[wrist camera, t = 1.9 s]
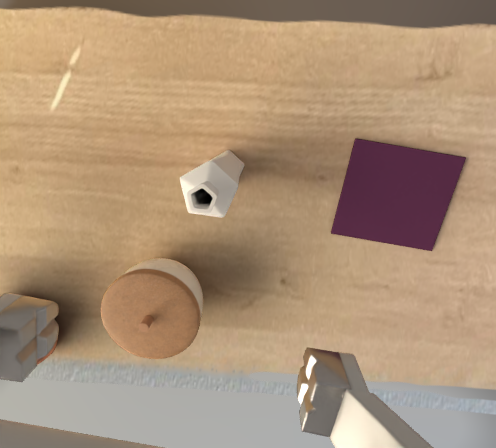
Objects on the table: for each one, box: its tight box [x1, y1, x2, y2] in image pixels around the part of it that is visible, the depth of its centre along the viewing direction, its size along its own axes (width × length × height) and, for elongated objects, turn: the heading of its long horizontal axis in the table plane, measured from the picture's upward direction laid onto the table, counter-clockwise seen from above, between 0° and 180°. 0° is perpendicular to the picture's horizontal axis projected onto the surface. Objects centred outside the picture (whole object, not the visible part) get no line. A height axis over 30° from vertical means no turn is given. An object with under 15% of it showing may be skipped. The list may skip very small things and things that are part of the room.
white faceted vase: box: [180, 150, 244, 217], centre depth 30 cm, size 5×4×15 cm
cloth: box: [331, 139, 466, 251], centre depth 37 cm, size 12×11×1 cm
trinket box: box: [101, 258, 203, 359], centre depth 38 cm, size 11×11×9 cm
